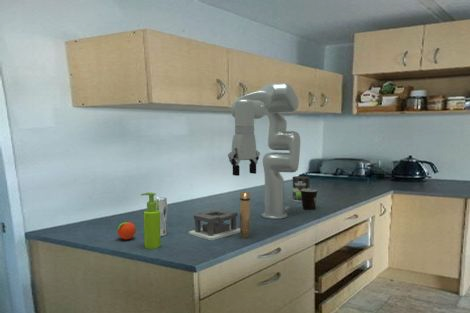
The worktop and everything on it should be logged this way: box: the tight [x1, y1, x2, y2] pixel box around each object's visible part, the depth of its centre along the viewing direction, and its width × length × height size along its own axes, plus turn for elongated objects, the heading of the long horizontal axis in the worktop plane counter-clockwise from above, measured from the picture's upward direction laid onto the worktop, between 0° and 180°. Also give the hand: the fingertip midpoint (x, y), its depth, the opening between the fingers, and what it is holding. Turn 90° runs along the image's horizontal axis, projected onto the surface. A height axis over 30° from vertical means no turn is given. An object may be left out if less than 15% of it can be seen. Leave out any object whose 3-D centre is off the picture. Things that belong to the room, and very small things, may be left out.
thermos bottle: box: [239, 191, 251, 239], centre depth 154 cm, size 4×4×18 cm
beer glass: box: [154, 197, 168, 237], centre depth 158 cm, size 7×7×15 cm
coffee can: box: [291, 175, 311, 203], centre depth 232 cm, size 10×10×14 cm
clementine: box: [116, 221, 137, 240], centre depth 152 cm, size 8×7×7 cm
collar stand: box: [188, 208, 240, 241], centre depth 161 cm, size 18×14×8 cm
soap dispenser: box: [140, 192, 162, 250], centre depth 143 cm, size 6×7×20 cm
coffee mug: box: [301, 188, 318, 211], centre depth 206 cm, size 12×9×10 cm
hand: (244, 174), depth 153 cm, fingers open, 9 cm apart
